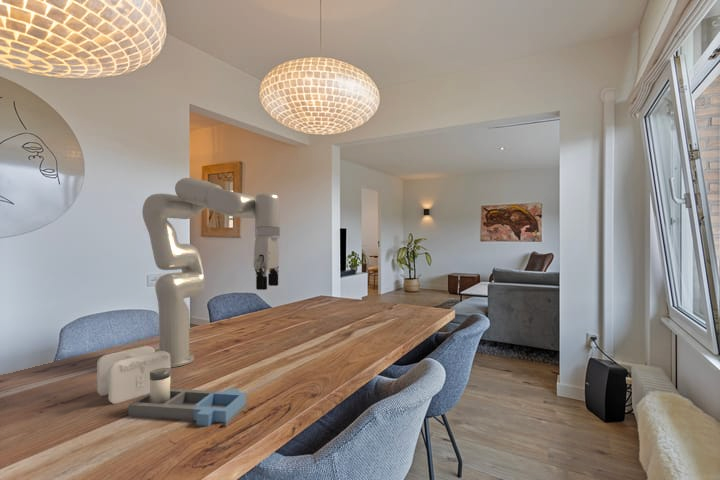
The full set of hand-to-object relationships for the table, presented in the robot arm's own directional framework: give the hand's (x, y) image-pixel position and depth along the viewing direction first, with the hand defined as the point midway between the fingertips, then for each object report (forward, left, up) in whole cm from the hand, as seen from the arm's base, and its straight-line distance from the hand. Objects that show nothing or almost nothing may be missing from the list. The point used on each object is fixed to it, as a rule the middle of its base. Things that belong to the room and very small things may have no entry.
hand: (267, 287), depth 111 cm
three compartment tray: (-10, -25, -28) cm, 39 cm away
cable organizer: (-32, -17, -28) cm, 46 cm away
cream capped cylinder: (-18, -25, -27) cm, 41 cm away
